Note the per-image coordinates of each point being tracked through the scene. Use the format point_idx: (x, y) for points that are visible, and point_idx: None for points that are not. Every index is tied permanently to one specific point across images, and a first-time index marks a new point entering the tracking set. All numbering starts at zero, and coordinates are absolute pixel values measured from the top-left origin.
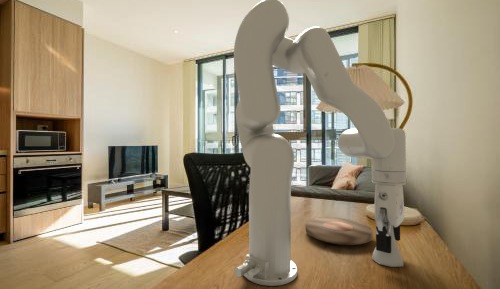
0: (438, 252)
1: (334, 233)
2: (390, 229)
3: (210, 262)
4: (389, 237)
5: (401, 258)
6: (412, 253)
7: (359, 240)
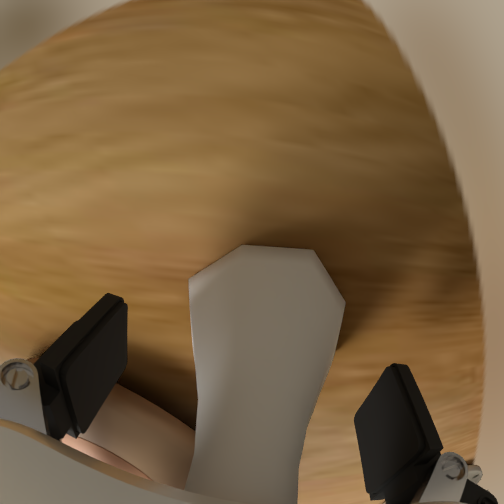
0: (34, 78)
1: None
2: (424, 497)
3: None
4: (436, 447)
5: (275, 266)
6: (89, 185)
7: (179, 436)
